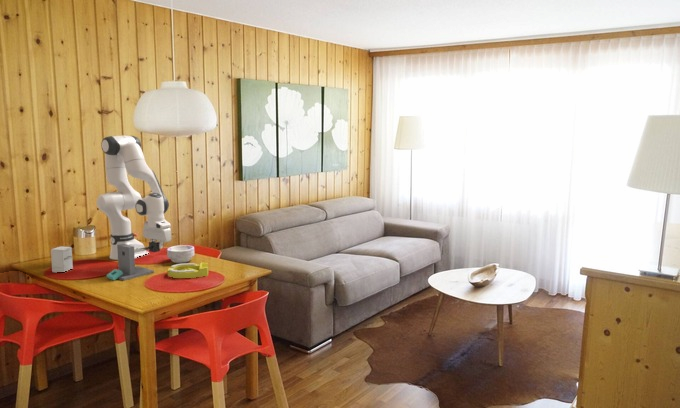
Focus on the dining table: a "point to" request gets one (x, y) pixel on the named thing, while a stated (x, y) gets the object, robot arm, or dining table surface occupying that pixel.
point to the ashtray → (188, 270)
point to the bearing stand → (129, 263)
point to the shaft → (150, 247)
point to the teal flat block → (114, 274)
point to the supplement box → (61, 259)
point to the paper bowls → (180, 253)
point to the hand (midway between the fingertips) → (157, 247)
